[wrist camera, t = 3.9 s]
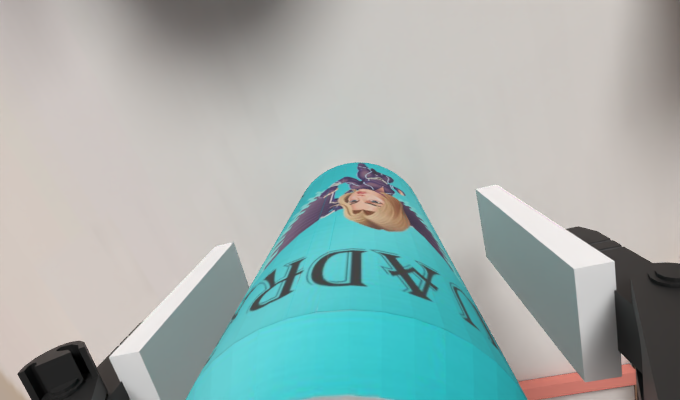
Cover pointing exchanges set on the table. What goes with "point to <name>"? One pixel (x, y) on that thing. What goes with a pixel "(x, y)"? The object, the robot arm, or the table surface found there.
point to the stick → (573, 384)
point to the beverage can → (357, 307)
